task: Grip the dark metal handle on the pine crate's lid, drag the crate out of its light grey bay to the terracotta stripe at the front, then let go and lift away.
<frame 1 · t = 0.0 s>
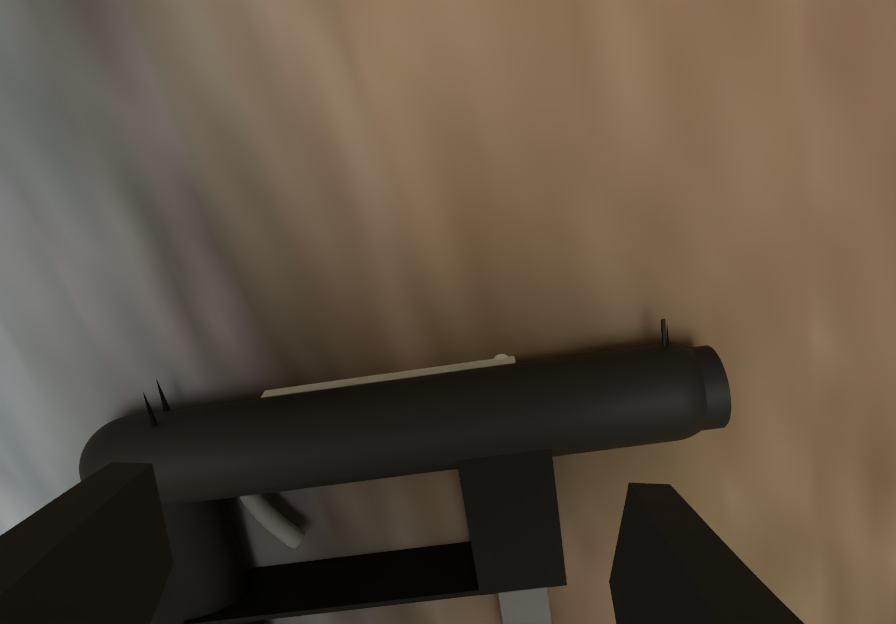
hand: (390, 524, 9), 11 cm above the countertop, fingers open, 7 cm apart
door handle: (424, 538, 22), on the countertop
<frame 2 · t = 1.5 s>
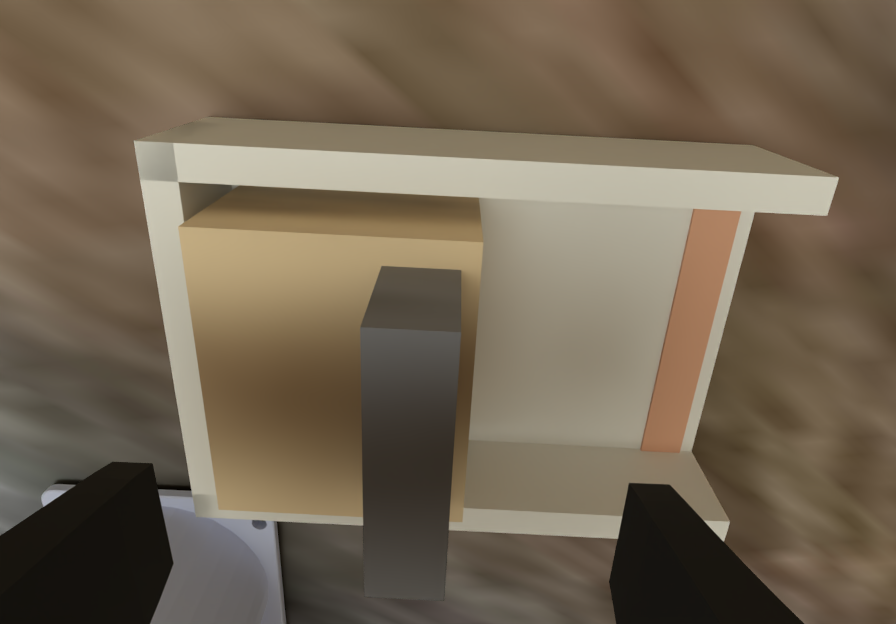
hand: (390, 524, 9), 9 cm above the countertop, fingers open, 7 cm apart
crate: (341, 377, 14), point 5 cm above the countertop, slide at 0.0 cm
bay: (469, 303, 18), on the countertop
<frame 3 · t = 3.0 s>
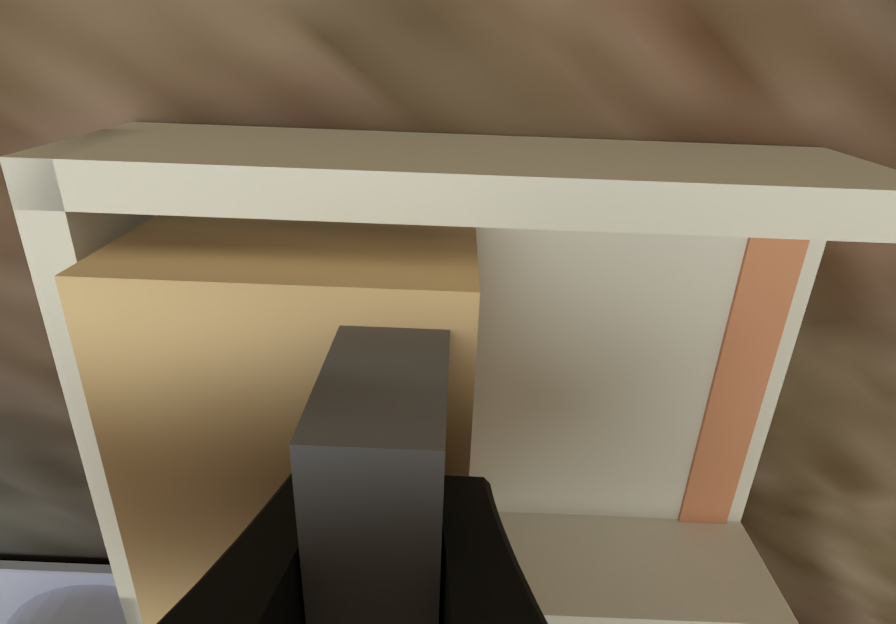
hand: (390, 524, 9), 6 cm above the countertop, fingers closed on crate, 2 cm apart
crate: (295, 462, 11), point 5 cm above the countertop, slide at 0.0 cm, touching gripper
bay: (466, 347, 15), on the countertop
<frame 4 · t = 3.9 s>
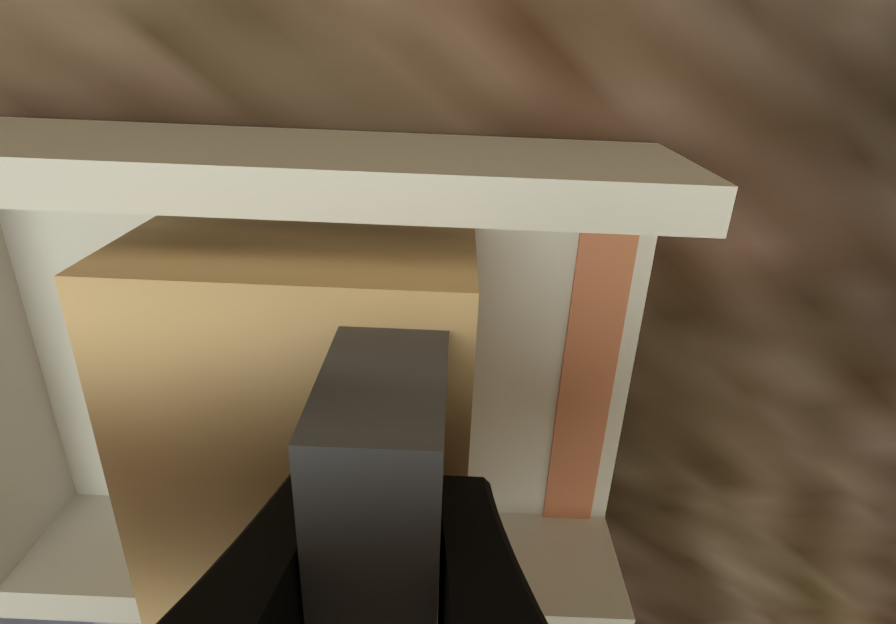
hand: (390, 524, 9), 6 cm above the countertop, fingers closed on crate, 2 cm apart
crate: (294, 463, 11), point 5 cm above the countertop, slide at 3.4 cm, touching gripper
bay: (324, 341, 15), on the countertop
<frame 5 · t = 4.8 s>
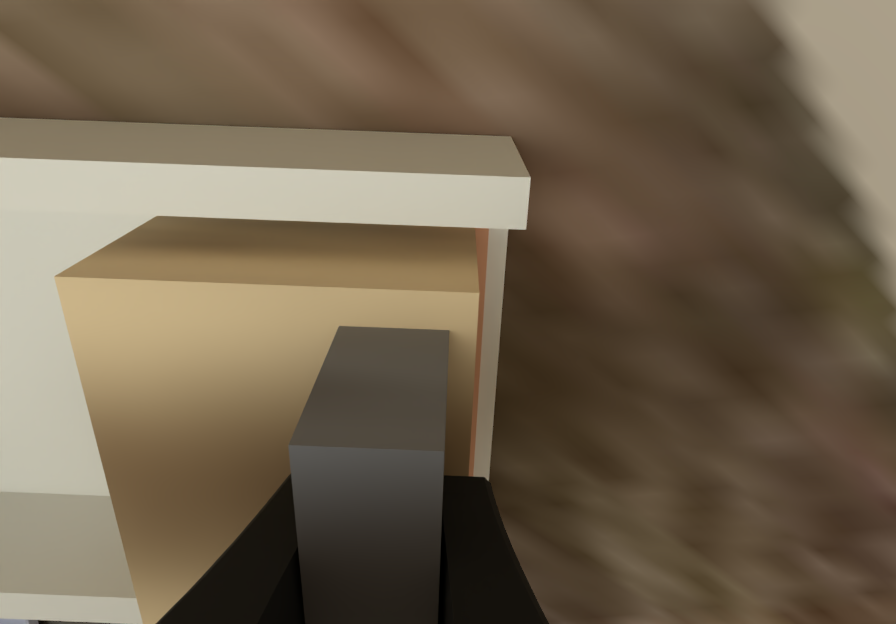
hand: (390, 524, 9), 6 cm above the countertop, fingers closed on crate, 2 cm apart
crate: (295, 463, 11), point 5 cm above the countertop, slide at 6.5 cm, touching gripper
bay: (199, 336, 15), on the countertop
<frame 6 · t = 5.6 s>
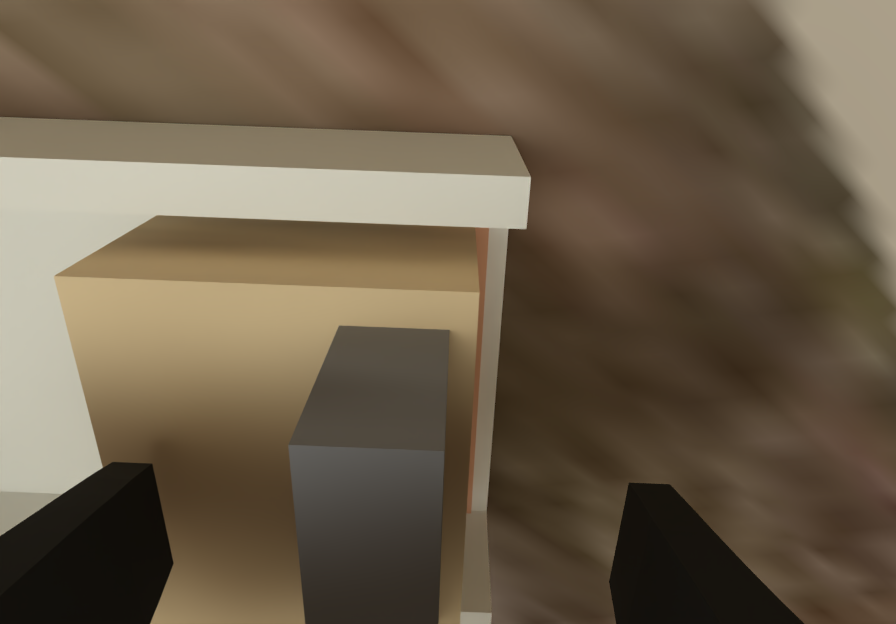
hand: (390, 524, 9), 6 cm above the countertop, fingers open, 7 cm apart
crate: (295, 462, 11), point 5 cm above the countertop, slide at 6.5 cm
bay: (199, 336, 15), on the countertop
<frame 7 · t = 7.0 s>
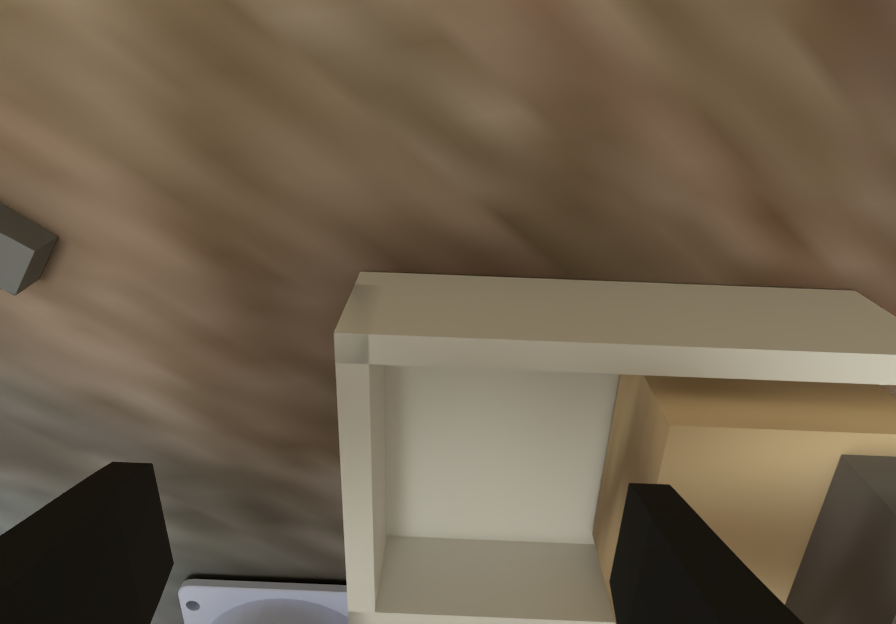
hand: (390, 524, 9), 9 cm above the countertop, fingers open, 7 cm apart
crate: (753, 532, 16), point 5 cm above the countertop, slide at 6.5 cm
bay: (585, 423, 20), on the countertop
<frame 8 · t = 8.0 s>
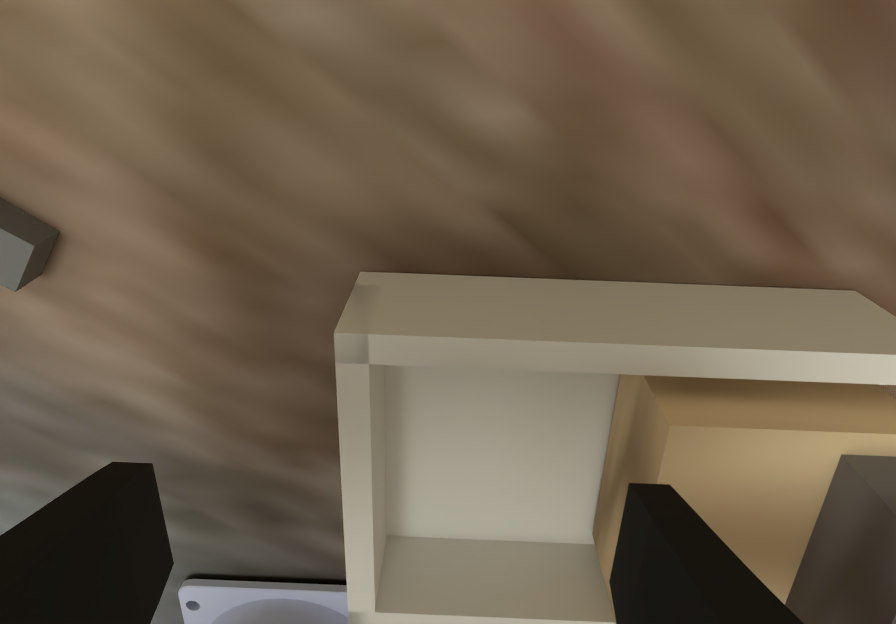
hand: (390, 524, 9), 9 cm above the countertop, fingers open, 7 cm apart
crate: (753, 532, 16), point 5 cm above the countertop, slide at 6.5 cm
bay: (585, 423, 20), on the countertop
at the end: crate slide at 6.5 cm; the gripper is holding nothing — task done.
